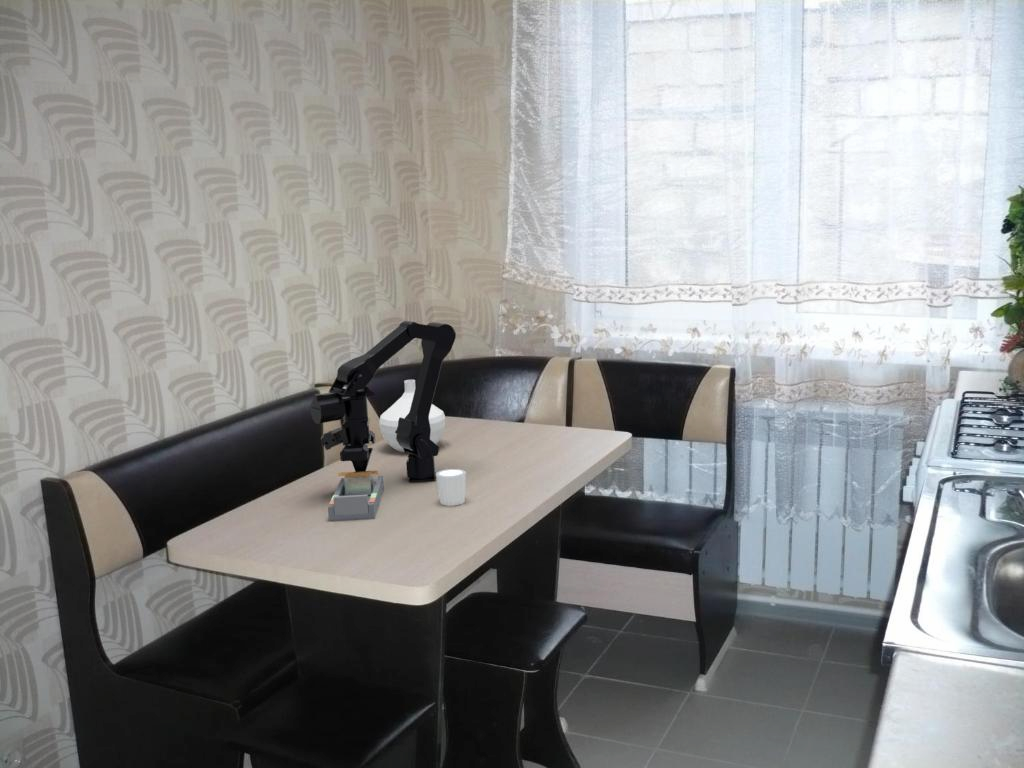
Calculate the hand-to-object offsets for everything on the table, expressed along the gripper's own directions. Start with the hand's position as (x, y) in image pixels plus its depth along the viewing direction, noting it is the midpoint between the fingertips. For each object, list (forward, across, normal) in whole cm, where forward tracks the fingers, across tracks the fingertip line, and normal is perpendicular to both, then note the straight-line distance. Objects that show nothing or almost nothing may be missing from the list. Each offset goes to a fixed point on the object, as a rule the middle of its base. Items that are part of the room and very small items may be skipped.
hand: (360, 480), depth 253 cm
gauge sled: (+2, +5, 0) cm, 5 cm away
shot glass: (+3, +11, +22) cm, 25 cm away
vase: (+3, -41, +10) cm, 42 cm away
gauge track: (+3, +9, 0) cm, 10 cm away
